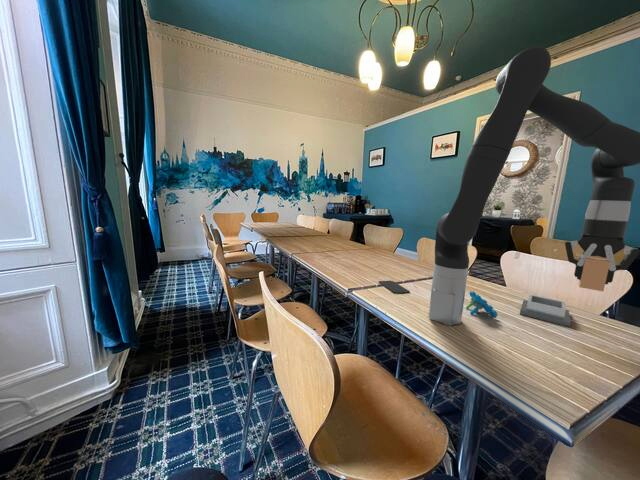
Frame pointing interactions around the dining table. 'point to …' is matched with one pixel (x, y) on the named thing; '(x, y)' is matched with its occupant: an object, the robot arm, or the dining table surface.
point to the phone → (394, 287)
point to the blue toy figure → (480, 304)
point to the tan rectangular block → (594, 274)
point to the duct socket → (546, 310)
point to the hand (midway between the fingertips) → (591, 281)
